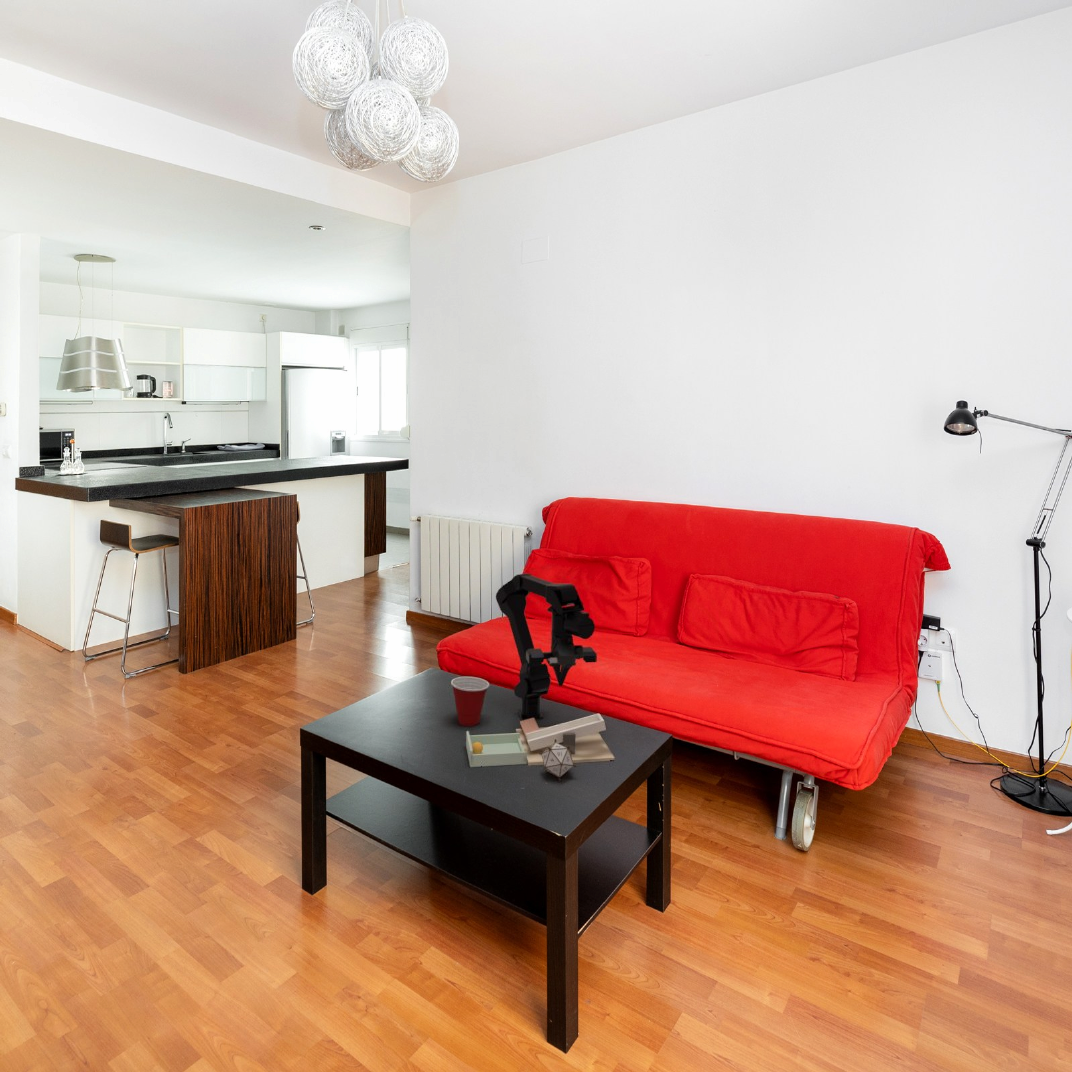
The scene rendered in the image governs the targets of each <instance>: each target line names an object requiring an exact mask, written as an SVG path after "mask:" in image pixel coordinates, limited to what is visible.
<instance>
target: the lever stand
mask: <svg viewBox="0 0 1072 1072" xmlns="http://www.w3.org/2000/svg"><path fill="white" fill-rule="evenodd" d="M562 723H563V722H562ZM562 723H557V725H559V724H562ZM548 727H549V726H545V727H538V728H539V730H541V729H544V728H548ZM515 733H520V740H521V743H522V746H523V748H524V751H526V752H527V766H541V765H542V766H544V763H543V759H542V755H540V754H539V752H540V753H543V752H544V751H545V750H547V749H548V748H549V747H550V746H547V747H543V748H540V749H536V750H533V751H531V750H530V747H529V745H528V742H527V739H526V737H525V734H524V732H523V729H522V728H515ZM575 736H576V735H575V733H567V734H563V742H561V743H558V744H560V745H563V746H565V747H567V748H568V746H570V748H569V751H571V750H572V752H571V757H572V760H573V764H579V763H596V762H597V763H599V762H611V761H610V760H614V761H615V756H614V753H612V751H611V749H610V748H609V747H608V745H607V744H606V742H605V740H604V739H603V738H602V736H601V734H600V733H599V732H597V733H593V734H590V735H586V736H582V737H579V738H575Z"/></svg>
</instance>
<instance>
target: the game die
mask: <svg viewBox="0 0 1072 1072" xmlns="http://www.w3.org/2000/svg"><path fill="white" fill-rule="evenodd" d="M554 741H555V743H554V744H553V745H551V746H550V747H549V748H548V749H547V750H545V751H544V752H543V753H540V752H539V754H540V755H542V759H543V763H544V765H543V767H542V768H541V769H542V770H545V772H544V773H545V774H548V773H549V774H552V775H554V776H555V777H557V778H558V781H559V782H561V780H562V779H561V777H562V776H563V775H565V774H566V773H567V772H568V771H570V770H571V769H572V768H578V766H577V764H575V763H573V760H572V757H571V752H572V750H571V751H569V748H570V746H568V748H567V747H565V746H563V745H560V744H558V743H556V739H555V740H554Z"/></svg>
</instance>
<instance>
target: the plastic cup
mask: <svg viewBox="0 0 1072 1072" xmlns="http://www.w3.org/2000/svg"><path fill="white" fill-rule="evenodd" d="M450 682H451V683H450V684H451V686H452V690H453V695H454V702H455V708H456V709H455V710H456V714H457V719H458V720H457V721H458V723H459V725H461V726H463V727H473V726H476V725H478V724H480V720H481V715H482V711H483V706H484V702H485V696H486V693H487V690H488V688H489V687H490V683H489V682H488V680H485V679H483V678H480V677H475V676H459V677H455V678H453V679H452V680H451V681H450Z"/></svg>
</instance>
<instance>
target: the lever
mask: <svg viewBox="0 0 1072 1072" xmlns="http://www.w3.org/2000/svg"><path fill="white" fill-rule="evenodd" d="M519 723H520V726H521V727H520V728H521V729H523V732H524V734H525V737H526V739H527V742H528V745H529V747H530V750H531V751H533V750H536V749H540V748H543V747H547V746H551V745H553V744H554V743H555V741H554V740H555V739H556V743H561V742H563V734H567V733H575V735H576V736H575V738H579V737H582V736H586V735H590V734H593V733H597V732H598V733H599V732H603V731H606V730H607V729H606V728H607V727H606V723H605V720H604V719H603V717H602V716H601V714H600V713H594V714H592V715H588V716H584V717H581V718H576V719H574V720H570V721H567V722H562V724H560V723H558V724H559V725H558V724H556V725H551V726H547V727H548V728H544V729H541V730H539V728H540V727H539V726H538V723H537V721H536V719H534V718H531V719H524V720H521V721H519Z"/></svg>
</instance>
